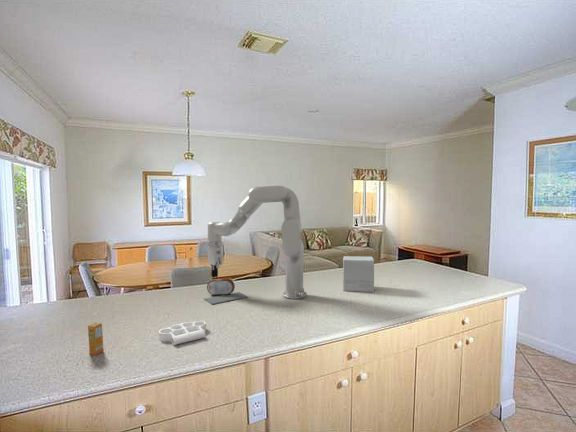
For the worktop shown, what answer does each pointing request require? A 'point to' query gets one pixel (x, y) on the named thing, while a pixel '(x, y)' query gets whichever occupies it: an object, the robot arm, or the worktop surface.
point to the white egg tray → (183, 332)
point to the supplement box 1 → (95, 338)
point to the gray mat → (225, 298)
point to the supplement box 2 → (358, 273)
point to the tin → (220, 286)
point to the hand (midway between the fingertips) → (214, 276)
